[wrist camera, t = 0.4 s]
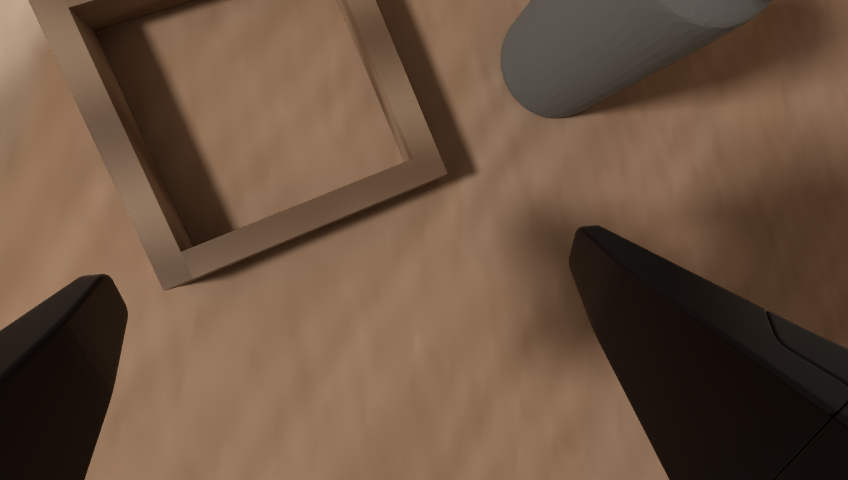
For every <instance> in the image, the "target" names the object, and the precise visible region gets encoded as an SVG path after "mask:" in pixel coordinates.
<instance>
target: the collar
mask: <svg viewBox="0 0 848 480" xmlns="http://www.w3.org/2000/svg"><path fill="white" fill-rule="evenodd" d="M188 1H192V0H29V2H30V5H31V7H32V9H33V11H34V13H35V15H36V18H37V20H38V22H39V24H40V26H41V28H42V30H43V33H44V35H45V37H46V39H47V41H48V43H49V45H50V48H51V50H52V52H53V54H54V56H55V58H56V60H57V63H58V65H59V67H60V69H61V71H62V73H63V75H64V78H65V80H66V82H67V84H68V86H69V88H70V91H71V93H72V95H73V97H74V99H75V101H76V103H77V106H78V108H79V110H80V112H81V114H82V116H83V118H84V121H85V123H86V125H87V127H88V129H89V131H90V133H91V136H92V138H93V140H94V142H95V144H96V146H97V148H98V151H99V153H100V155H101V157H102V159H103V161H104V164H105V166H106V168H107V170H108V172H109V174H110V176H111V179H112V181H113V183H114V185H115V187H116V189H117V191H118V194H119V196H120V198H121V200H122V202H123V204H124V206H125V209H126V211H127V213H128V215H129V217H130V219H131V221H132V224H133V226H134V228H135V230H136V232H137V234H138V237H139V239H140V241H141V243H142V245H143V247H144V249H145V252H146V254H147V256H148V258H149V260H150V262H151V264H152V267H153V269H154V271H155V273H156V275H157V277H158V279H159V282H160V284H161V286H162V288H163V290H164V291H165V290H169V289H172V288H176V287H180V286H182V285H185V284H187V283H189V282H192V281H194V280H197V279H199V278H202V277H204V276H206V275H209V274H211V273H214V272H216V271H218V270H221V269H223V268H226V267H228V266H231V265H233V264H235V263H238V262H240V261H243V260H245V259H247V258H250V257H252V256H255V255H257V254H260V253H262V252H264V251H267V250H269V249H272V248H274V247H277V246H279V245H281V244H284V243H286V242H289V241H291V240H293V239H296V238H298V237H301V236H303V235H306V234H308V233H310V232H313V231H315V230H318V229H320V228H322V227H325V226H327V225H330V224H332V223H335V222H337V221H339V220H342V219H344V218H347V217H349V216H351V215H354V214H356V213H359V212H361V211H364V210H366V209H368V208H371V207H373V206H376V205H378V204H380V203H383V202H385V201H388V200H390V199H393V198H395V197H397V196H400V195H402V194H405V193H407V192H410V191H412V190H414V189H417V188H419V187H422V186H424V185H426V184H429V183H431V182H434V181H436V180H438V179H440V178H442V177H443V176H445V175H446V174H447V171H446V169H445V166H444V164H443V162H442V159H441V157H440V154H439V152H438V149H437V147H436V145H435V142H434V140H433V137H432V135H431V133H430V130H429V128H428V125H427V123H426V121H425V118H424V116H423V113H422V111H421V108H420V106H419V104H418V101H417V99H416V96H415V94H414V92H413V89H412V87H411V84H410V82H409V79H408V77H407V75H406V72H405V70H404V67H403V65H402V63H401V60H400V58H399V55H398V53H397V51H396V48H395V46H394V43H393V41H392V38H391V36H390V34H389V31H388V29H387V26H386V24H385V22H384V19H383V17H382V14H381V12H380V10H379V7H378V5H377V2H376V0H337V1H338V4H339V6H340V9H341V11H342V13H343V16H344V18H345V21H346V23H347V25H348V28H349V30H350V32H351V35H352V37H353V40H354V42H355V44H356V47H357V49H358V51H359V54H360V56H361V59H362V61H363V63H364V66H365V68H366V70H367V73H368V75H369V78H370V80H371V82H372V85H373V87H374V90H375V92H376V94H377V97H378V99H379V101H380V104H381V106H382V109H383V111H384V113H385V116H386V118H387V120H388V123H389V125H390V128H391V130H392V132H393V135H394V137H395V140H396V142H397V144H398V147H399V149H400V151H401V154H402V156H403V159H404V161H405V162H404V163H401V164H399V165H396V166H394V167H392V168H389V169H387V170H384V171H382V172H379V173H377V174H374V175H372V176H369V177H367V178H364V179H362V180H359V181H357V182H354V183H352V184H349V185H347V186H344V187H342V188H339V189H337V190H334V191H332V192H329V193H327V194H324V195H322V196H319V197H317V198H314V199H312V200H309V201H307V202H304V203H302V204H299V205H297V206H294V207H292V208H289V209H287V210H284V211H282V212H279V213H277V214H274V215H272V216H269V217H267V218H264V219H262V220H259V221H257V222H254V223H252V224H249V225H247V226H244V227H242V228H239V229H237V230H234V231H232V232H229V233H227V234H224V235H222V236H219V237H217V238H214V239H212V240H209V241H207V242H204V243H202V244H199V245H197V246H194V247H193V245H192V243H191V241H190V239H189V237H188V235H187V232H186V230H185V228H184V226H183V224H182V221H181V219H180V217H179V215H178V213H177V211H176V208H175V206H174V204H173V202H172V200H171V197H170V195H169V193H168V191H167V189H166V187H165V184H164V182H163V180H162V178H161V176H160V173H159V171H158V169H157V167H156V165H155V163H154V160H153V158H152V156H151V154H150V152H149V149H148V147H147V145H146V143H145V141H144V139H143V136H142V134H141V132H140V130H139V128H138V125H137V123H136V121H135V119H134V117H133V114H132V112H131V110H130V108H129V106H128V104H127V101H126V99H125V97H124V95H123V93H122V90H121V88H120V86H119V84H118V82H117V80H116V77H115V75H114V73H113V71H112V69H111V66H110V64H109V62H108V60H107V58H106V56H105V53H104V51H103V49H102V47H101V45H100V42H99V40H98V38H97V36H96V34H95V32H94V30H97V29H100V28H104V27H107V26H110V25H113V24H117V23H120V22H123V21H126V20H130V19H133V18H136V17H139V16H143V15H146V14H149V13H153V12H156V11H159V10H162V9H166V8H169V7H172V6H175V5H179V4H182V3H185V2H188Z"/></svg>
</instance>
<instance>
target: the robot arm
mask: <svg viewBox="0 0 848 480" xmlns="http://www.w3.org/2000/svg"><path fill="white" fill-rule="evenodd" d="M569 266H570V270H571V273H572V275H573V278H574V281H575V284H576V286H577V289H578V292H579V294H580V297H581V300H582V302H583V305H584V308H585V310H586V313H587V316H588V318H589V321H590V323H591V326H592V328H593V330H594V332H595V335H596V337H597V339H598V341H599V343H600V345H601V347H602V349H603V351H604V352H605V354H606V356H607V358H608V360H609V362H610V364H611V366H612V368H613V370H614V372H615V374H616V376H617V378H618V380H619V382H620V384H621V386H622V388H623V390H624V392H625V394H626V396H627V397H628V399H629V401H630V403H631V405H632V407H633V409H634V411H635V413H636V415H637V417H638V419H639V421H640V423H641V425H642V427H643V429H644V431H645V433H646V435H647V437H648V439H649V441H650V443H651V444H652V446H653V448H654V450H655V452H656V454H657V456H658V458H659V460H660V462H661V464H662V466H663V468H664V470H665V472H666V474H667V476H668V478H669V480H848V349H847V348H845V347H843V346H840V345H838V344H836V343H834V342H832V341H829V340H827V339H825V338H823V337H821V336H819V335H817V334H814V333H812V332H810V331H808V330H806V329H804V328H802V327H800V326H798V325H796V324H794V323H792V322H790V321H788V320H786V319H784V318H782V317H780V316H778V315H776V314H774V313H772V312H770V311H767V312H766V311H765V309H764V308H762V307H760V306H758V305H756V304H754V303H752V302H750V301H748V300H746V299H744V298H742V297H740V296H738V295H736V294H734V293H732V292H730V291H728V290H726V289H724V288H722V287H720V286H718V285H716V284H714V283H712V282H710V281H708V280H706V279H704V278H702V277H700V276H698V275H696V274H694V273H692V272H690V271H688V270H686V269H684V268H682V267H680V266H678V265H676V264H674V263H672V262H670V261H668V260H666V259H664V258H662V257H660V256H658V255H656V254H654V253H652V252H650V251H648V250H646V249H644V248H642V247H640V246H638V245H636V244H634V243H632V242H630V241H628V240H626V239H624V238H622V237H620V236H618V235H616V234H614V233H612V232H610V231H608V230H606V229H604V228H602V227H600V226H597V225H594V226H584V227H580V228H578V229H577V231H576V233H575V237H574V240H573V244H572V248H571V252H570V256H569ZM127 319H128V311H127V307H126V304H125V302H124V301H123V299H122V297H121V295H120V293H119V291H118V289H117V287H116V285H115V284H114V282H113V280H112V279H111V277H110V276H108V275H106V274H97V275H86V276H81V277H79V278H77V279H76V280H74V281H73V282H72V283H70V284H69V285H67V286H66V287H64V288H63V289H61V290H60V291H58V292H57V293H55V294H54V295H52V296H51V297H49V298H48V299H46V300H45V301H44V302H42V303H41V304H39V305H38V306H36V307H35V308H33V309H32V310H30V311H29V312H27V313H26V314H24V315H23V316H21V317H20V318H18V319H17V320H15V321H14V322H13V323H11V324H10V325H8V326H7V327H5V328H4V329H2V330H1V331H0V480H84V479H85V476H86V473H87V470H88V467H89V464H90V461H91V458H92V455H93V452H94V449H95V446H96V443H97V440H98V437H99V434H100V431H101V428H102V425H103V422H104V418H105V415H106V412H107V409H108V406H109V403H110V400H111V396H112V393H113V389H114V384H115V380H116V375H117V370H118V365H119V360H120V355H121V350H122V345H123V339H124V334H125V329H126V324H127Z"/></svg>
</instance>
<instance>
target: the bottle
mask: <svg viewBox="0 0 848 480" xmlns="http://www.w3.org/2000/svg"><path fill="white" fill-rule="evenodd" d="M771 1H772V0H531V1H530V2H529V4H528V5H527V6H526V7H525V9H524V10H523V11H522V13H521V14H520V15H519V16H518V18H517V19H516V20H515V22H514V23H513V24H512V26H511V27H510V29H509V31H508V33H507V34H506V37H505V39H504V41H503V45H502V52H501V68H502V73H503V77H504V80H505V82H506V85H507V87H508V89H509V90H510V92H511V94H512V95H513V96H514V98H515V99H516V100H517V101H518V102H519V103H520V104H521V105H522V106H523V107H525V108H526V109H527V110H529V111H531V112H533V113H535V114H537V115H540V116H543V117H547V118H564V117H569V116H572V115H575V114H577V113H579V112H581V111H584V110H586V109H588V108H589V107H591V106H593V105H595V104H597V103H599V102H601V101H603V100H604V99H606V98H608V97H610V96H612V95H614V94H616V93H618V92H619V91H621V90H623V89H625V88H627V87H629V86H631V85H633V84H634V83H636V82H638V81H640V80H642V79H644V78H646V77H648V76H649V75H651V74H653V73H655V72H657V71H659V70H661V69H663V68H664V67H666V66H668V65H670V64H672V63H674V62H676V61H678V60H679V59H681V58H683V57H685V56H687V55H689V54H691V53H693V52H694V51H696V50H698V49H700V48H702V47H704V46H705V45H707V44H709V43H711V42H713V41H714V40H716V39H718V38H720V37H721V36H723V35H725V34H727V33H729V32H730V31H732V30H734V29H736V28H738V27H739V26H741V25H743V24H745V23H746V22H748V21H749V20H751V19H752V18H754V17H755V16H757V15H758V14H759V13H760V12H762V11H763V10H764V9H765V8H766V7H767V6H768V5H769V4H770V2H771Z"/></svg>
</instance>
